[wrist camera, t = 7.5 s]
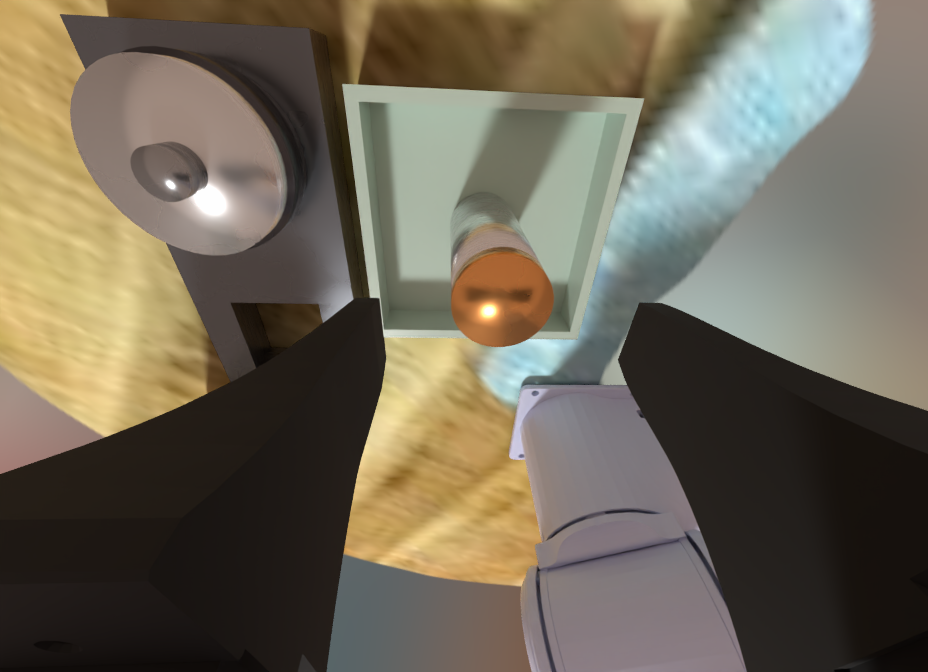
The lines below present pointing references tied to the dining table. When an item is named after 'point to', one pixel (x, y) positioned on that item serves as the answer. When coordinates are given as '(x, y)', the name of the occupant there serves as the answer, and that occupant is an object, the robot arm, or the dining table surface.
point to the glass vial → (495, 274)
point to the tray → (482, 190)
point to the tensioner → (222, 163)
